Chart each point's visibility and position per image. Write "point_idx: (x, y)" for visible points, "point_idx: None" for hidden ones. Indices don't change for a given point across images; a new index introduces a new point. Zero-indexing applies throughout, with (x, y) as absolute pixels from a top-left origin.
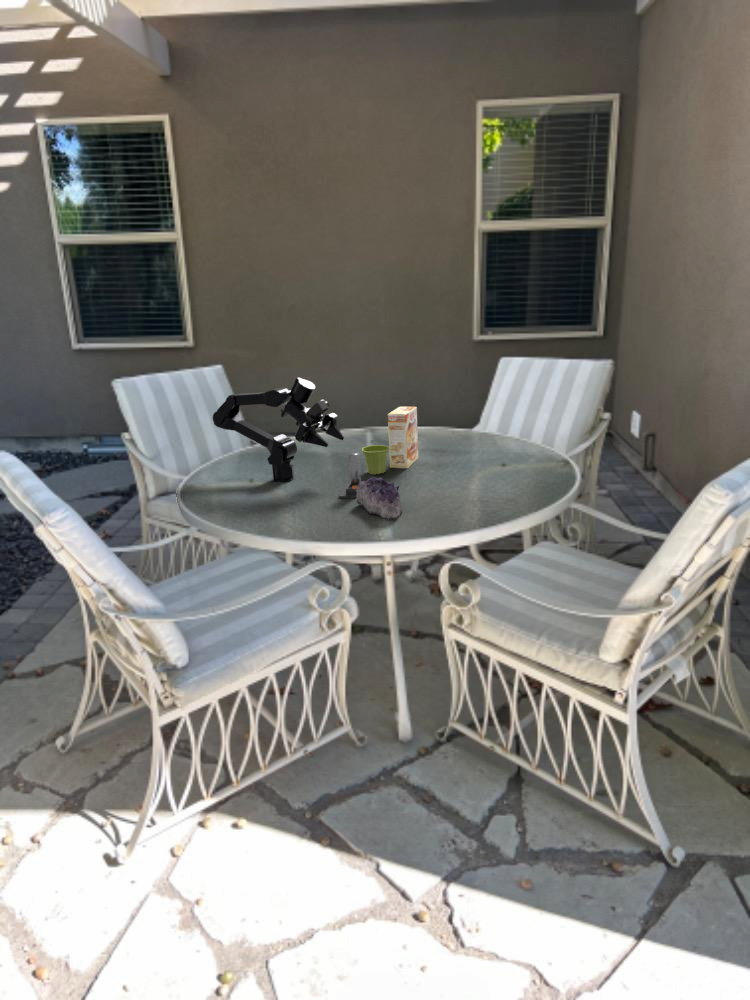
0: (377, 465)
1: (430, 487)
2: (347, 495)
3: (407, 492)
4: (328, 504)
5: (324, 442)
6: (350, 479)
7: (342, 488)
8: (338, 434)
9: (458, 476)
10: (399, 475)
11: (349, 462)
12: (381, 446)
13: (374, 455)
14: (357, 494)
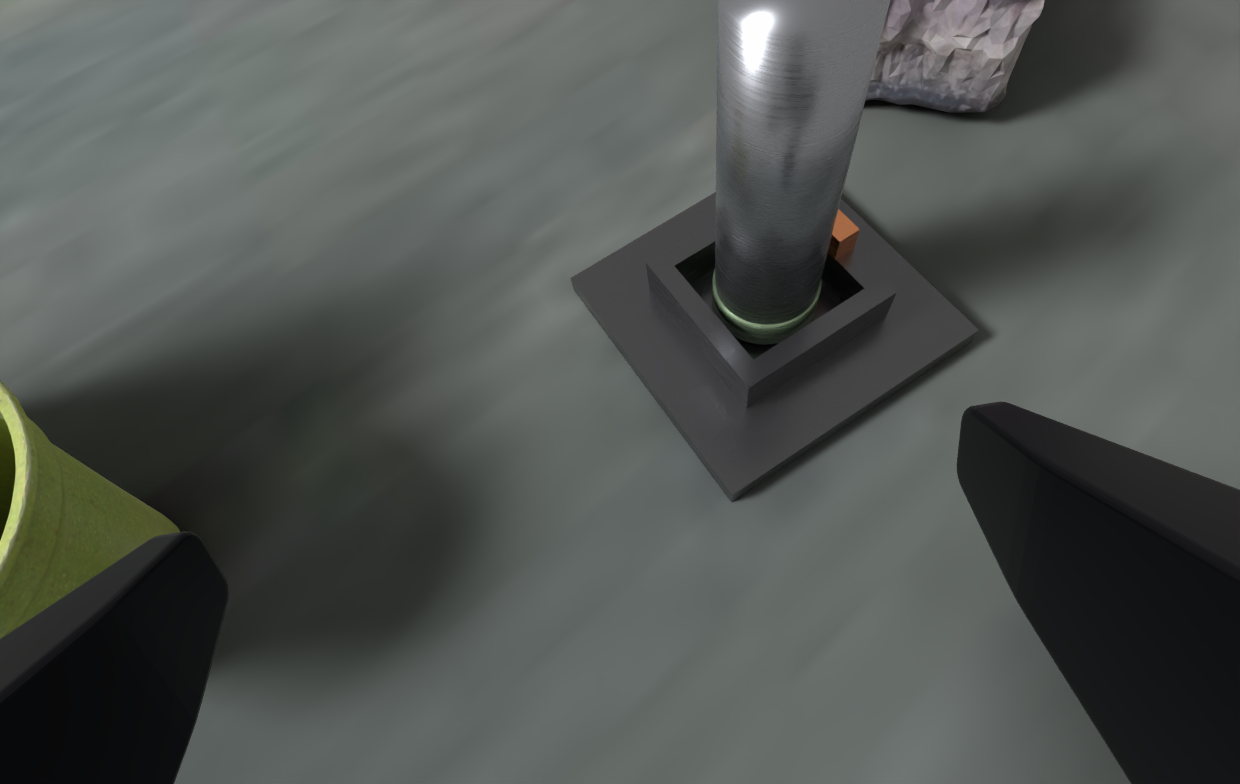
0: (120, 495)
1: (383, 33)
2: (907, 281)
3: (540, 67)
4: (1145, 305)
5: (1100, 451)
6: (825, 251)
7: (781, 458)
8: (81, 715)
9: (109, 45)
10: (164, 352)
11: (866, 95)
12: None
13: (49, 457)
14: (1027, 29)
